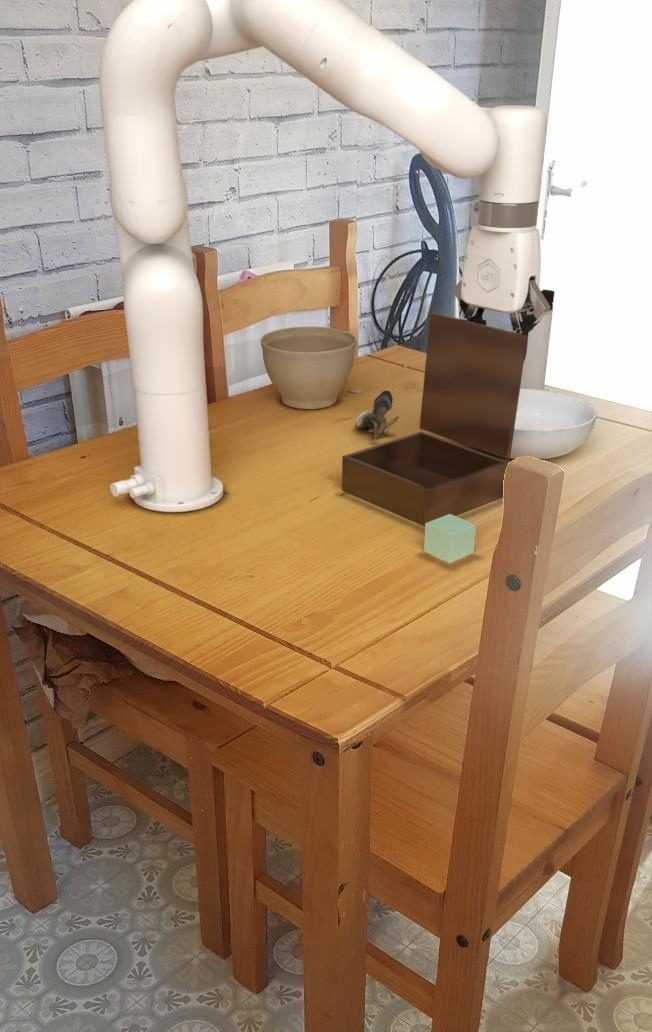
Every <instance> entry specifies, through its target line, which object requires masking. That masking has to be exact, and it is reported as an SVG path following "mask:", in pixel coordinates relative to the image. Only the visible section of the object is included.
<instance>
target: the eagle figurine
mask: <svg viewBox="0 0 652 1032" xmlns="http://www.w3.org/2000/svg"><path fill="white" fill-rule="evenodd" d="M393 401H394V399H393V395H392V393H391V391H390V390H386V389H385V390H383V391H382V392H381V393H380V394H379V395H378V396H376V398H375V399H374V400H373V406H372V411H371V412H370V410H365V411H364V412H362V413H361V414H359V415H358V416H357V417H356V420H355V425H354V427H355V428H359V427H365V426H367V427H368V428H369V429H368V432H369V433H372V434H373V442H374V441H378V440H379V439H380V437H381V435H382V433H383V434H386V435H387V436H388V437H390V436H391V435H390V432H389V428H388V427H389V426H391V425H393V424H395V423H396V422H397V421H398V420H399V417H400V416H399V415H397V416H395V417H394V418H393V419H391V420H389V421H388V422H387V418H386V414H388V412H390V411H391V409H392V408H393Z"/></svg>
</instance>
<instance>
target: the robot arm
mask: <svg viewBox="0 0 652 1032" xmlns="http://www.w3.org/2000/svg"><path fill="white" fill-rule="evenodd" d="M259 48H264V49H265V50H267V51H268V52H270V53H271V54H273V55H274V56H275V57H277V58H278V59H279V60H280V61H282V62H283V63H285V64H286V65H288V66H289V67H290V68H292V69H293V70H295V71H296V72H297V73H299V74H300V75H301V76H303V77H304V78H306V79H307V80H309V82H311V83H313V85H315V86H317V88H320V90H322V91H323V92H325V93H326V94H327V95H329V96H330V97H331V98H333V100H335V101H337V102H338V103H339V104H342V105H343V106H345V107H346V108H348V109H349V110H351V111H352V112H354V113H356V114H358V115H360V116H362V117H365V118H367V119H369V120H372V121H374V122H375V123H377V124H379V125H381V126H383V127H385V128H386V129H387V130H389V131H391V132H393V133H394V134H396V135H397V136H399V137H400V138H402V139H403V140H404V141H406V142H407V143H409V144H410V145H412V146H413V147H415V148H416V149H417V150H418V151H419V153H420V155H421V157H422V158H423V159H424V161H425V162H426V163H427V164H428V165H430V166H431V167H432V168H434V169H436V170H439V171H440V172H442V173H445V174H448V175H449V176H452V177H454V178H457V179H462V180H464V179H465V180H470V179H475V178H477V177H479V176H480V180H479V181H480V182H479V195H478V196H479V198H478V200H477V201H476V202H475V203H474V205H473V210H474V213H477V222H476V223H474V224H472V226H471V229H470V232H469V237H468V240H467V243H466V248H465V254H464V259H463V267H462V276H461V280H460V281H459V282H458V283H457V284H455V285H454V287H453V288H452V289H453V290H452V291H453V294H454V295H455V298H456V300H457V301H458V303H459V307H460V309H461V311H462V313H463V320H466V321H470V322H474V323H478V324H482V325H486V326H487V319H484V317H485V315H486V314H487V313H486V312H487V311H488V310H490V311H493V312H497V313H501V314H507V315H509V319H510V323H511V329H512V328H513V332H515V333H519V334H523V335H527V343H528V333H529V332H531V331H532V330H533V328H534V327H535V326H536V325H537V324H538V323H539V322H540V321H541V319H542V318H543V317H544V316H545V315H546V314H547V313H548V312H549V311H550V305H549V303H548V302H547V300H546V299H545V297H544V295H543V294H542V292H541V291H542V290H541V289H540V285H541V284H540V283H541V268H542V267H541V264H542V258H541V257H542V255H541V253H542V252H541V251H542V250H541V236H540V235H541V234H540V229H538V228H537V224H538V213H539V203H540V201H539V200H540V195H541V194H540V193H541V182H542V174H543V163H544V155H545V154H544V153H545V152H544V151H545V144H546V143H545V142H546V136H547V135H546V133H547V122H548V121H547V114H546V112H545V110H543V109H542V108H541V107H539V106H536V105H535V106H534V105H525V104H506V105H496V106H494V107H483V106H480V105H479V104H477V103H476V102H475V101H474V100H472V99H471V98H469V96H468V95H466V94H465V93H463V92H462V91H461V90H459V89H458V88H457V87H455V86H454V85H453V84H452V83H450V82H449V81H447V80H446V79H445V78H444V77H442V76H441V75H440V74H438V73H436V72H435V71H434V70H433V69H431V68H430V67H428V66H427V65H426V64H424V63H423V62H422V61H420V60H418V59H417V58H415V57H414V56H413V55H412V54H410V53H409V52H408V51H406V49H404V48H403V47H402V46H400V44H398V43H397V42H395V41H394V40H393V39H391V38H390V37H389V36H387V35H386V34H384V33H383V32H381V30H380V29H377V28H376V27H375V26H374V25H372V24H371V23H369V22H368V21H367V20H366V19H365V18H363V17H362V16H361V15H359V14H358V13H357V12H356V11H354V10H352V8H351V7H349V6H347V5H346V3H344V2H342V1H341V0H131V2H129V3H128V4H127V6H125V7H124V9H123V10H122V11H121V12H120V13H119V15H118V16H117V18H116V19H115V20H114V22H113V23H112V26H111V28H110V29H109V32H108V34H107V36H106V39H105V42H104V45H103V48H102V52H101V55H100V61H99V70H98V91H99V92H98V93H99V104H100V111H101V113H100V114H101V120H102V127H103V128H102V129H103V136H104V137H103V139H104V146H105V152H106V160H107V168H108V175H109V186H108V188H109V190H108V194H109V203H110V206H111V207H110V208H111V211H112V218H113V226H114V230H115V237H116V243H117V250H118V257H119V263H120V268H121V274H122V275H121V276H122V293H123V294H122V296H123V297H122V298H123V310H124V319H125V326H126V335H127V343H128V353H129V363H130V373H131V384H132V389H133V399H134V408H135V409H134V410H135V421H136V429H137V440H138V451H139V461H140V465H137V466H134V467H133V472H134V474H132V475H130V476H129V478H127V479H122V480H119V481H115V482H112V483H110V485H109V487H110V493H111V494H112V496H113V497H114V498H118V497H122V496H125V495H128V494H129V496H130V498H131V499H132V500H133V502H134V503H136V505H138V506H140V507H141V508H144V509H147V510H150V511H155V512H159V513H160V512H161V513H185V512H192V511H197V510H202V509H205V508H208V507H211V506H213V505H215V504H216V503H217V502H220V500H221V499H222V498H223V496H224V484H223V482H222V481H221V480H220V479H219V478H217V477H215V476H214V475H212V464H211V463H212V462H211V446H210V429H209V413H208V398H207V397H208V396H207V395H208V394H207V382H206V367H205V348H204V344H205V343H204V306H203V295H202V290H201V286H200V282H199V280H198V276H197V274H196V271H195V267H194V259H193V253H192V252H193V251H192V244H191V235H190V226H189V219H188V210H189V193H188V188H187V185H186V182H185V179H184V173H183V166H182V160H181V151H180V145H179V144H180V143H179V136H178V135H179V134H178V119H177V111H176V91H177V85H178V82H179V79H180V77H181V76H182V74H183V72H184V71H185V70H186V69H187V68H190V67H191V66H193V65H195V64H196V63H198V62H201V61H207V60H211V59H216V58H221V57H226V56H231V55H235V54H239V53H243V52H248V51H251V50H255V49H259ZM532 308H534V310H533V311H532V313H531V314H530V309H532ZM519 314H521V318H522V322H521V319H520V315H519ZM527 343H526V350H525V357H524V360H525V358H526V353H527Z"/></svg>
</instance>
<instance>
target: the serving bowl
mask: <svg viewBox="0 0 652 1032" xmlns="http://www.w3.org/2000/svg"><path fill="white" fill-rule="evenodd" d="M597 417H598V412H597V409H596V407H595V406H593V405H592V404H591V403H589V402H587V401H585V400H583V399H581V398H579V397H575V396H573V395H569V394H565V393H560V392H555V391H549V390H545V389H544V390H536V389H520V392H519V399H518V406H517V413H516V420H515V427H514V434H513V442H512V449H511V456H510V458H509V459H513V460H515V458H517V457H521V456H530V457H535V458H538V459H539V460H547V459H554V458H557V457H562V456H565V455H568V454H570V453H571V452H573V451H575V450H576V449H578V448H579V447H581V445H582V444H584V443H585V441H586V440H588V438H589V436H590V435H591V433H592V431H593V429H594V426H595V423H596V421H597Z"/></svg>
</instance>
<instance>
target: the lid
mask: <svg viewBox="0 0 652 1032" xmlns="http://www.w3.org/2000/svg"><path fill="white" fill-rule="evenodd" d="M526 343H527V335H523V334H519V333H515V332H512V330H506V329H503V328H499V327H494V326H490V325H487V324H486V325H482V324H478V323H474V322H470V321H466V320H464V319H463V318H458V317H454V316H450V315H446V314H440V313H437V312H430V313H429V324H428V334H427V345H426V355H425V365H424V366H425V367H424V376H423V386H422V387H423V388H422V396H421V397H422V398H421V407H420V408H421V410H420V417H419V429H420V430H422V431H426V432H429V433H431V434H434V435H436V436H440V437H443V438H445V439H448V440H451V441H453V442H457V443H460V444H463V445H466V446H468V447H471V448H474V449H477V450H479V451H482V452H485V453H488V454H491V455H494V456H497V457H498V458H502V459H506V460H508V459H511V458H510V456H511V449H512V442H513V434H514V427H515V420H516V413H517V406H518V399H519V392H520V385H521V378H522V371H523V364H524V357H525V350H526Z"/></svg>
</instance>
